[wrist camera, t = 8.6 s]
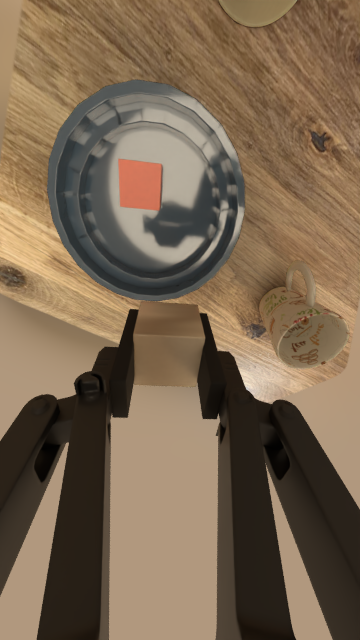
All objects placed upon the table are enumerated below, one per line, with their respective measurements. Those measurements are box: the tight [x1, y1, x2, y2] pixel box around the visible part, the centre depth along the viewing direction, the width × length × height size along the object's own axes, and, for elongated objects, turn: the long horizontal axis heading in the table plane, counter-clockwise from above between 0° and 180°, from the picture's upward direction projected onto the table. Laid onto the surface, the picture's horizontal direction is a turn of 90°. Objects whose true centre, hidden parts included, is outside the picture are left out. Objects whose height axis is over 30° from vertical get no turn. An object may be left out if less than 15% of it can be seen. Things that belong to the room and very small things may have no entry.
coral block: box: [118, 159, 163, 211], centre depth 24 cm, size 4×4×4 cm
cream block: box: [133, 301, 205, 387], centre depth 15 cm, size 4×4×4 cm
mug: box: [259, 260, 349, 369], centre depth 30 cm, size 8×13×10 cm, turn 11°
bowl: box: [47, 79, 245, 301], centre depth 25 cm, size 20×20×5 cm
